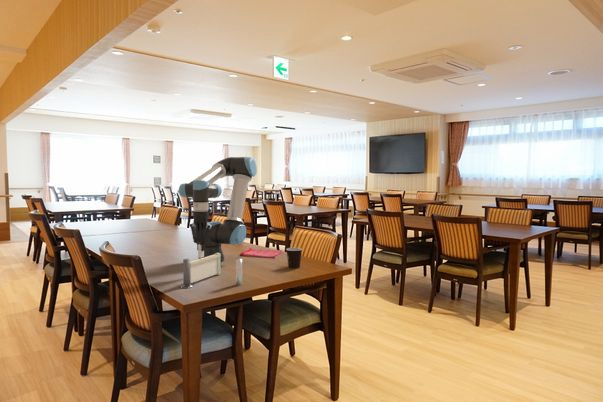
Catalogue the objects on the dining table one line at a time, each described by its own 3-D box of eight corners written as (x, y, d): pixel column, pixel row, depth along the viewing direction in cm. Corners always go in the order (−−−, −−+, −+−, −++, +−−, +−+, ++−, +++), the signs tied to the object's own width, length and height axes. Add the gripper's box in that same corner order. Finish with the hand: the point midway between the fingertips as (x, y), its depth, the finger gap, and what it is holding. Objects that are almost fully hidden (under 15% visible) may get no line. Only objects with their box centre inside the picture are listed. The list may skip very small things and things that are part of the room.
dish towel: (250, 251, 265) (250, 247, 265) (283, 253, 258) (283, 249, 258) (239, 256, 249) (239, 252, 248) (274, 259, 242) (274, 255, 242)
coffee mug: (300, 269, 215) (300, 251, 214) (284, 268, 216) (284, 250, 216) (304, 264, 226) (304, 247, 225) (289, 263, 228) (289, 246, 227)
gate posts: (179, 289, 177) (179, 263, 176) (180, 285, 184) (179, 259, 183) (242, 285, 184) (242, 259, 183) (241, 281, 191) (240, 256, 190)
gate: (187, 286, 180) (186, 260, 179) (182, 285, 181) (181, 259, 180) (221, 273, 202) (221, 250, 202) (216, 272, 204) (216, 250, 203)
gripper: (185, 210, 199) (186, 257, 200) (206, 211, 193) (206, 259, 194) (195, 209, 205) (195, 254, 207) (216, 210, 200) (216, 257, 201)
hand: (201, 257), depth 200 cm, fingers closed
